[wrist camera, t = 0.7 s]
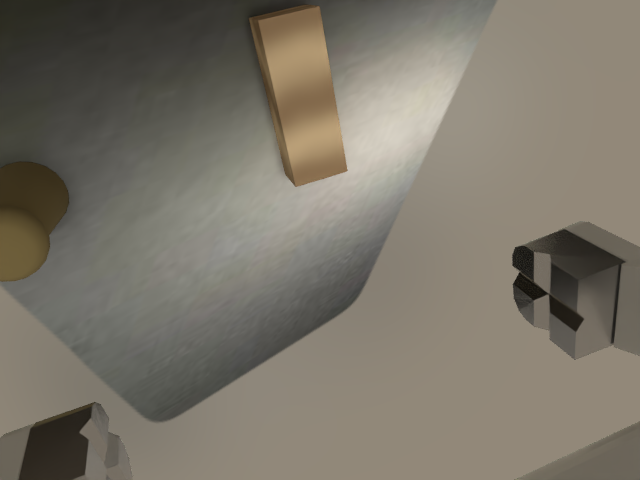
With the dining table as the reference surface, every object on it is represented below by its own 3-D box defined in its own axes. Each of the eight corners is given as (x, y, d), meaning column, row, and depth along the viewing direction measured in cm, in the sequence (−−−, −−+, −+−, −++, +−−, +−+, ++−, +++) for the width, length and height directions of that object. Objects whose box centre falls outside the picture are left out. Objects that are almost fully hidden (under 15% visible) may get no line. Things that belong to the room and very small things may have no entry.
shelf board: (247, 17, 43) (258, 20, 40) (304, 4, 44) (319, 6, 41) (284, 173, 50) (295, 186, 46) (332, 158, 51) (347, 171, 47)
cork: (81, 182, 44) (69, 235, 35) (50, 241, 45) (30, 307, 36) (5, 148, 41) (-32, 196, 32) (-27, 211, 42) (-70, 275, 33)
